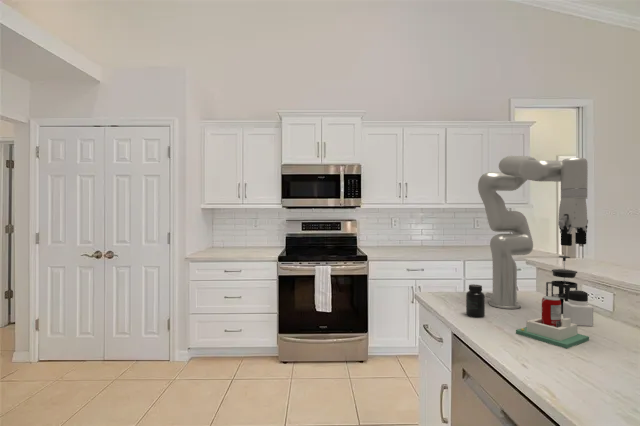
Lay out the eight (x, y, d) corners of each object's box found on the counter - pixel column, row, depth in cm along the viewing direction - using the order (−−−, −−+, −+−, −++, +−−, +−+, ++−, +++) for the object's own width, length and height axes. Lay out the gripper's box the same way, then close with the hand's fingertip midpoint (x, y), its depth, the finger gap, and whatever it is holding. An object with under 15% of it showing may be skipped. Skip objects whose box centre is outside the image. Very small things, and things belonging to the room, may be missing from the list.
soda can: (543, 329, 126) (543, 294, 126) (562, 332, 122) (562, 296, 122) (539, 333, 122) (540, 297, 122) (559, 336, 118) (559, 299, 118)
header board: (515, 333, 125) (515, 312, 125) (538, 326, 132) (538, 307, 132) (566, 348, 111) (566, 325, 111) (589, 340, 118) (589, 318, 118)
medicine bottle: (593, 326, 132) (593, 293, 132) (571, 325, 134) (571, 292, 134) (583, 320, 139) (583, 289, 139) (562, 319, 141) (562, 288, 141)
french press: (575, 309, 155) (575, 255, 154) (583, 315, 146) (583, 258, 146) (543, 307, 159) (543, 254, 158) (549, 313, 150) (549, 256, 150)
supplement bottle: (472, 312, 151) (472, 283, 151) (488, 316, 146) (488, 285, 146) (462, 314, 148) (462, 285, 148) (478, 318, 142) (478, 288, 142)
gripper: (574, 195, 132) (574, 242, 133) (548, 194, 124) (548, 245, 124) (598, 194, 126) (598, 244, 126) (573, 193, 117) (572, 247, 117)
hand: (573, 244), depth 125 cm, fingers open, 9 cm apart
